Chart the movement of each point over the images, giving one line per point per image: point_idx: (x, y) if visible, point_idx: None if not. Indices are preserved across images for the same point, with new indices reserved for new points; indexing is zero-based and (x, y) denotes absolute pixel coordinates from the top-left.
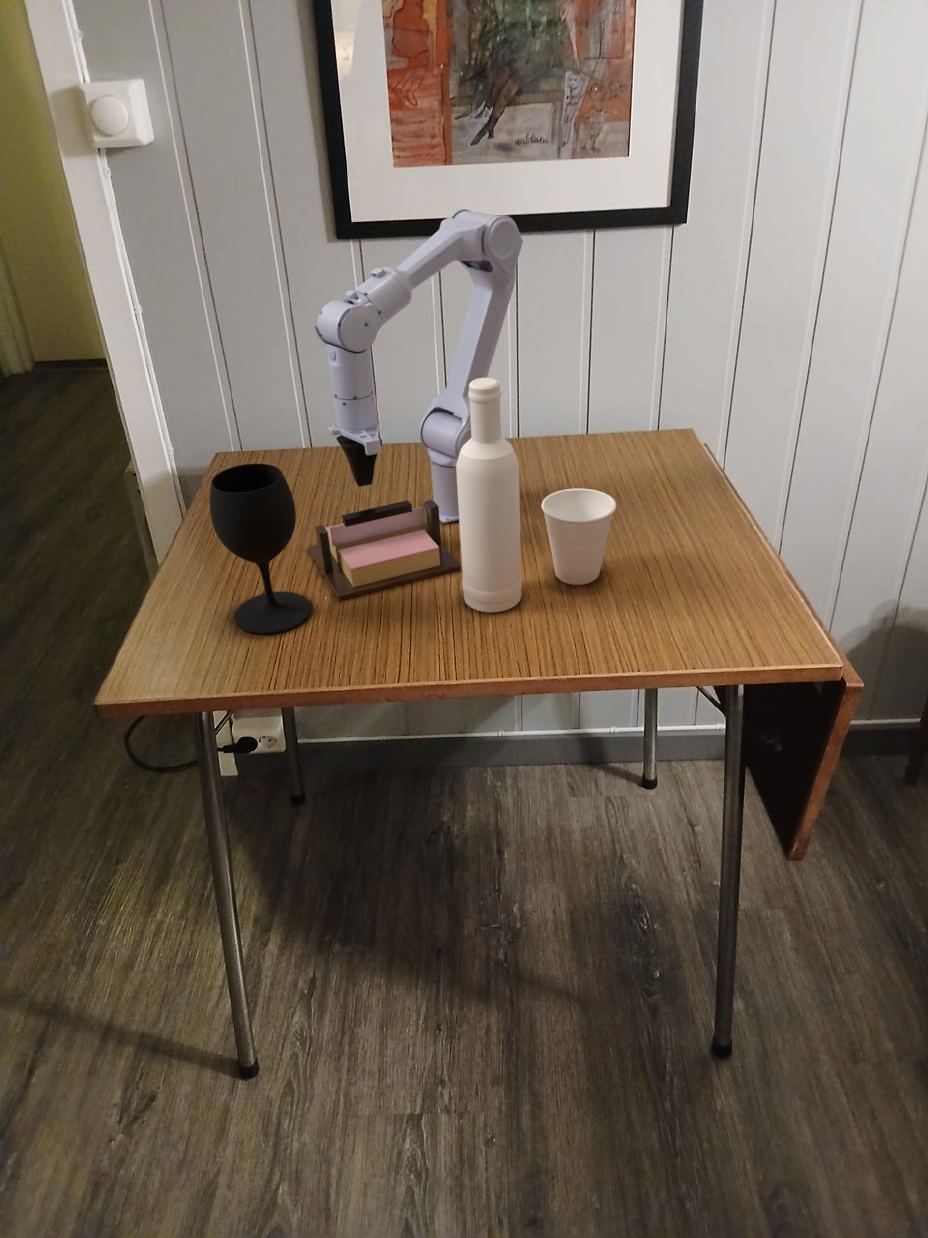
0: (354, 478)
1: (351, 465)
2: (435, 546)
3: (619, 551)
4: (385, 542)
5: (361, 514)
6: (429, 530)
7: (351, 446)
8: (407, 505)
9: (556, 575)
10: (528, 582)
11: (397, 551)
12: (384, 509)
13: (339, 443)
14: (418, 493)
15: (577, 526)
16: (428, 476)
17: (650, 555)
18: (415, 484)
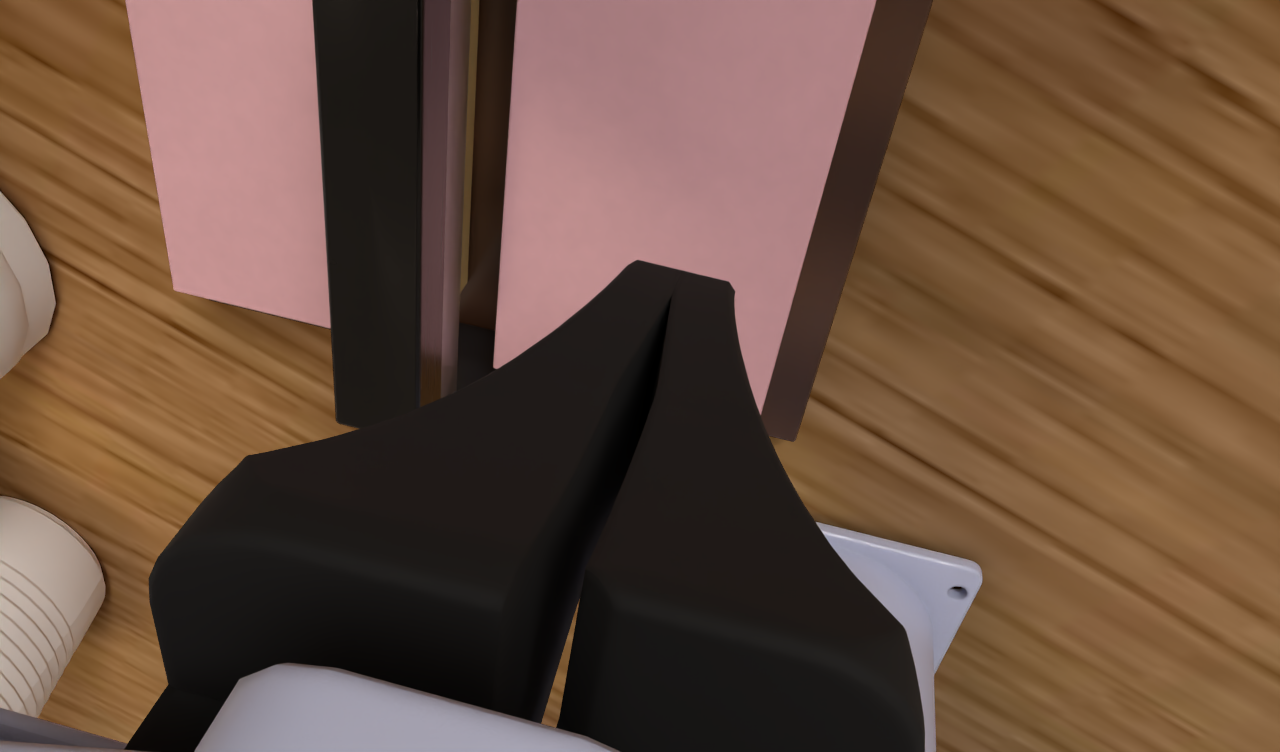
0: (693, 298)
1: (595, 379)
2: (186, 280)
3: (149, 709)
4: None
5: (339, 23)
6: (475, 379)
7: (158, 600)
8: (337, 395)
9: (9, 503)
10: (27, 415)
11: (206, 66)
12: (339, 235)
13: (756, 587)
14: (1144, 614)
15: None
16: (1273, 745)
17: (95, 734)
18: (1260, 664)
